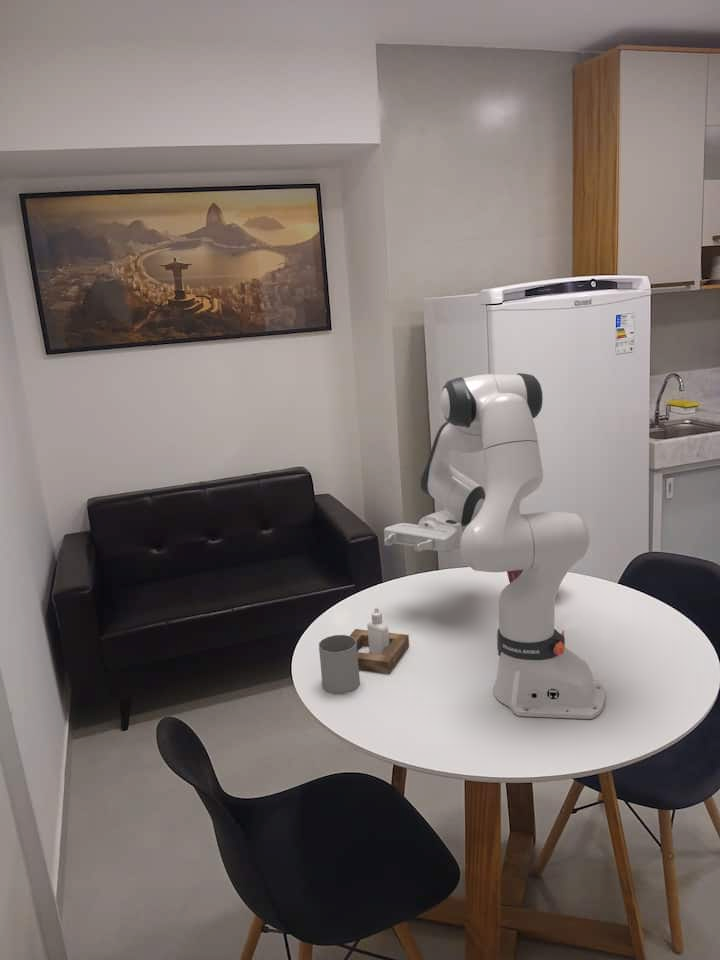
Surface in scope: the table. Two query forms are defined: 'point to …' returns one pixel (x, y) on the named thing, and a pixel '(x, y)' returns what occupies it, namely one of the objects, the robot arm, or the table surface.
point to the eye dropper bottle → (377, 634)
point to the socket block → (387, 659)
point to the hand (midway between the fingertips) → (401, 545)
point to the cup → (339, 664)
